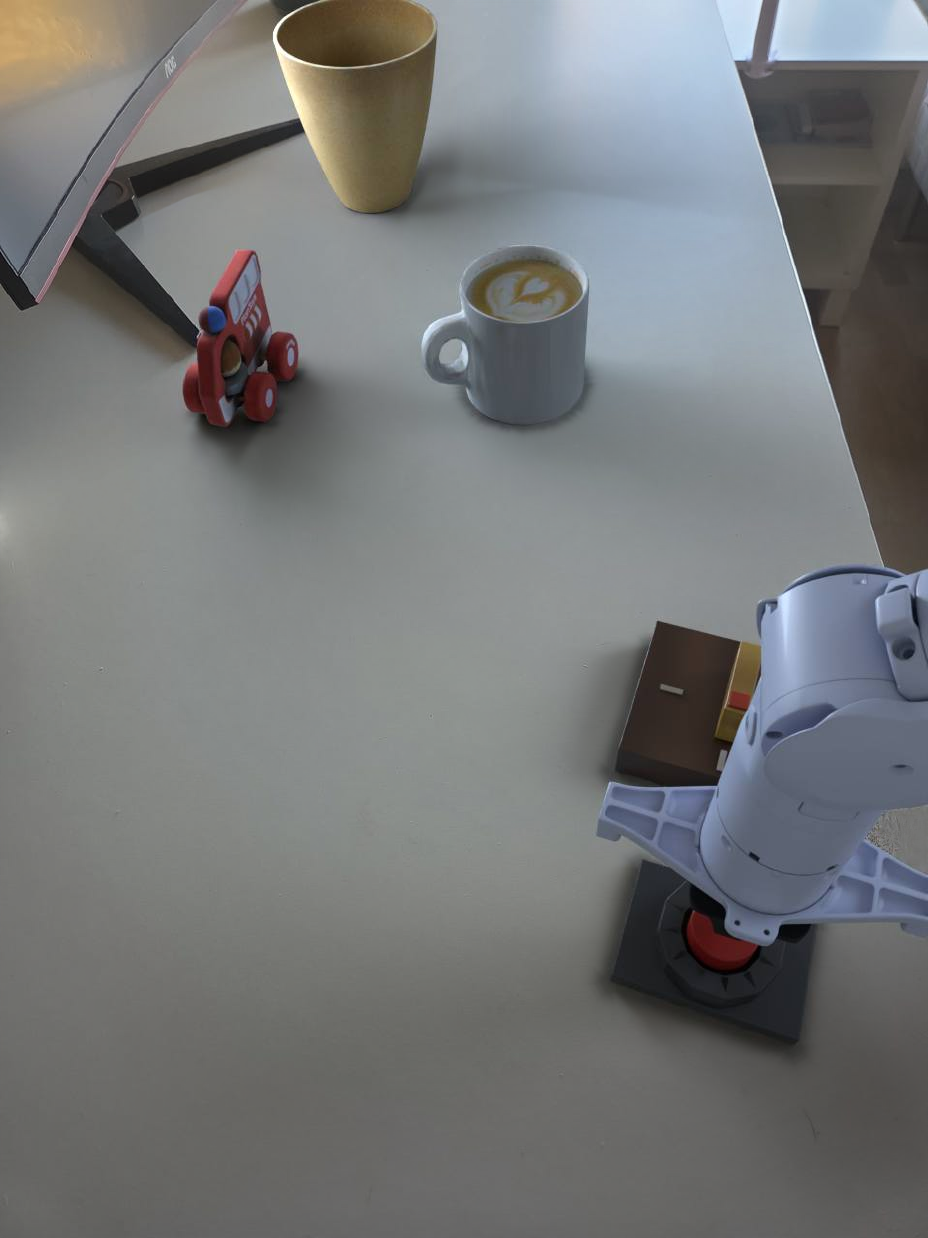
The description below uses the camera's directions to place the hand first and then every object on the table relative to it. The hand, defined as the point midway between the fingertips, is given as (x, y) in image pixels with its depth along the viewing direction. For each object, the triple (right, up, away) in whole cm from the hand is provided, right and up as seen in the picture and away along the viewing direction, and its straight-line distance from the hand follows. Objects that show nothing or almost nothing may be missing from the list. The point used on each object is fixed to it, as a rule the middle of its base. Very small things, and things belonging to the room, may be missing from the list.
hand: (729, 918), depth 49 cm
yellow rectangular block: (+3, +10, +10) cm, 14 cm away
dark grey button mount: (0, -3, +4) cm, 6 cm away
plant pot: (-23, +59, +51) cm, 81 cm away
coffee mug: (-10, +35, +33) cm, 49 cm away
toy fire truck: (-32, +35, +34) cm, 58 cm away
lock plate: (+3, +8, +12) cm, 15 cm away
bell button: (0, -2, +2) cm, 3 cm away
